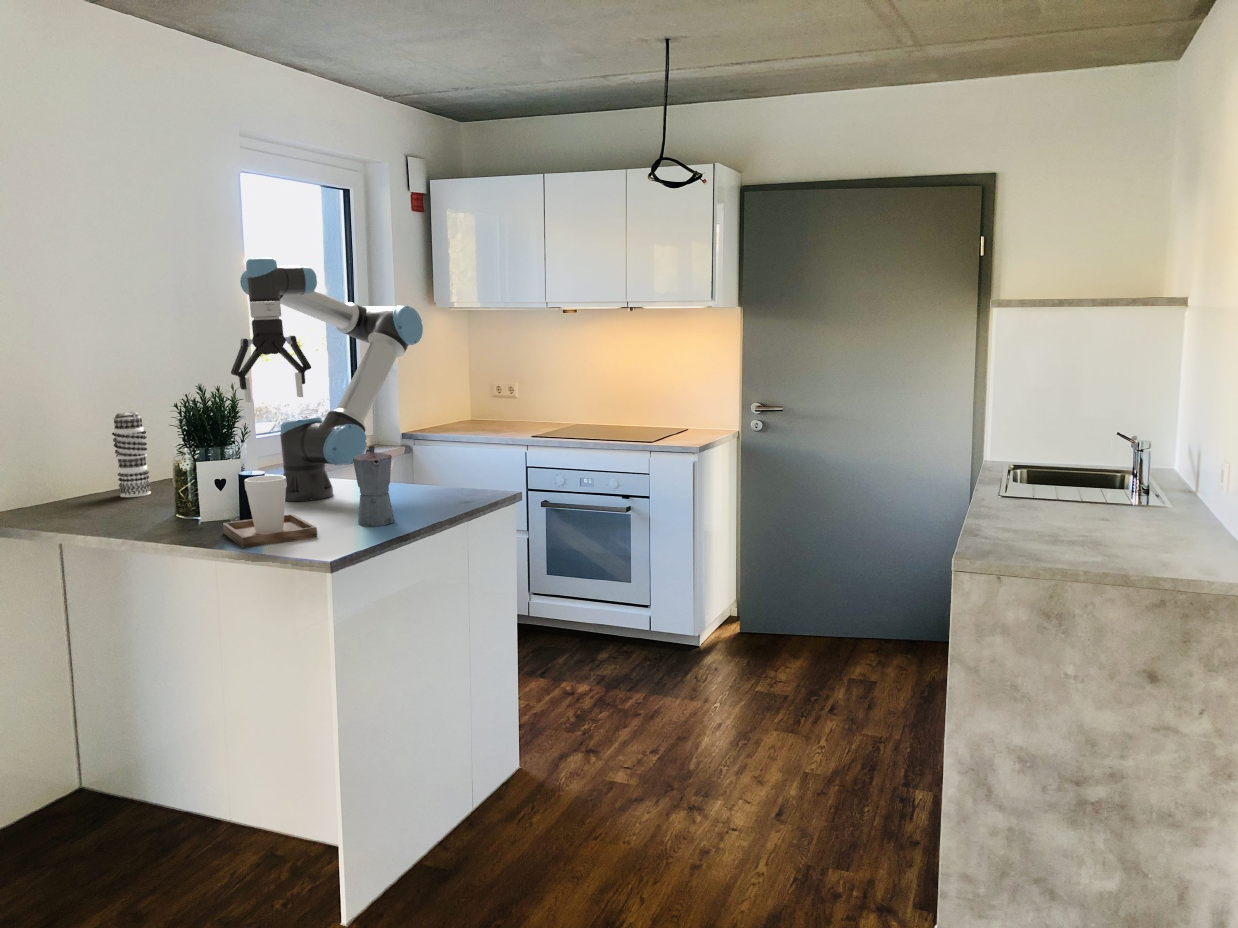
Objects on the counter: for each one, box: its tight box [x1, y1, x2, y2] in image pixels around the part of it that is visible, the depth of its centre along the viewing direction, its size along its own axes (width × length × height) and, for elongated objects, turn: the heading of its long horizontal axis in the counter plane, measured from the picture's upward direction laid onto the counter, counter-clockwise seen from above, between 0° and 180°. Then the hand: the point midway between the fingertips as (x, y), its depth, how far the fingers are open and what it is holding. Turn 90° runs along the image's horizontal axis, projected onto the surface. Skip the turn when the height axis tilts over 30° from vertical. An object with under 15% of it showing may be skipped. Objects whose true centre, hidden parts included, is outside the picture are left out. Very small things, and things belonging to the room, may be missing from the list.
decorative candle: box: [111, 411, 152, 498], centre depth 289 cm, size 9×9×25 cm
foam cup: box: [243, 474, 287, 534], centre depth 232 cm, size 10×9×13 cm
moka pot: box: [353, 445, 395, 527], centre depth 243 cm, size 10×15×20 cm, turn 28°
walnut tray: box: [222, 513, 318, 549], centre depth 233 cm, size 17×20×2 cm
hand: (274, 399), depth 254 cm, fingers open, 13 cm apart
